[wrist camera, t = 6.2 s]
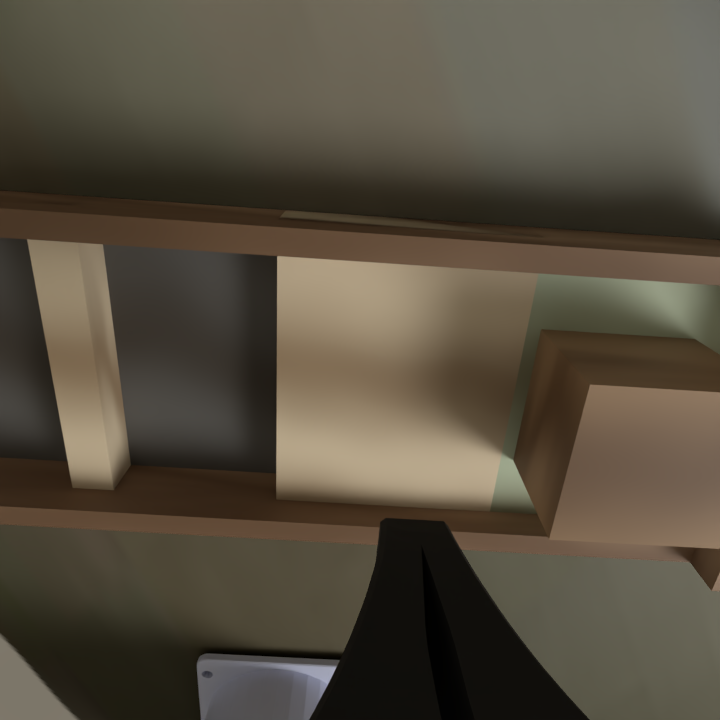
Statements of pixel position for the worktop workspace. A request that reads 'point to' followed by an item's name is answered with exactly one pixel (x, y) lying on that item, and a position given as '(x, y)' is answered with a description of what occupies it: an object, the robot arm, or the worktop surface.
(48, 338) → the brown wooden open box
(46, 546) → the worktop surface
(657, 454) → the walnut block
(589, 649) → the worktop surface
